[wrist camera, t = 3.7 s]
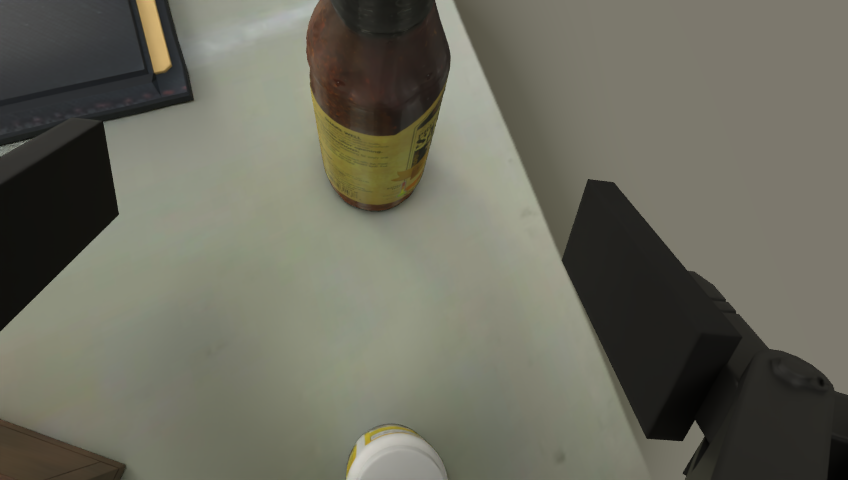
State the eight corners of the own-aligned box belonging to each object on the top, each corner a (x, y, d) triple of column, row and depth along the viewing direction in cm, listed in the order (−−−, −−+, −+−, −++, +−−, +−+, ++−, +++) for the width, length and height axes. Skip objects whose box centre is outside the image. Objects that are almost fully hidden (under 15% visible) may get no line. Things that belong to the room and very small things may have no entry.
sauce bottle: (424, 213, 34) (508, -2, 15) (325, 216, 33) (276, -7, 14) (418, 120, 35) (486, -184, 16) (323, 121, 34) (277, -198, 15)
